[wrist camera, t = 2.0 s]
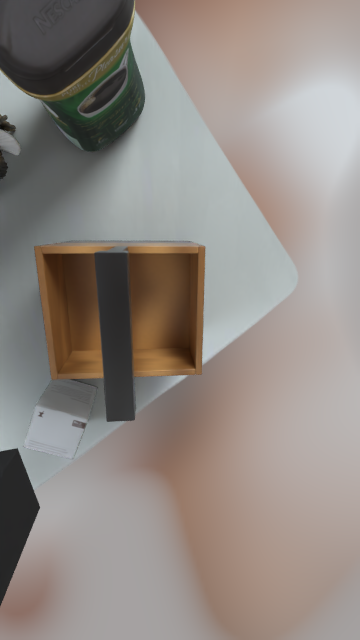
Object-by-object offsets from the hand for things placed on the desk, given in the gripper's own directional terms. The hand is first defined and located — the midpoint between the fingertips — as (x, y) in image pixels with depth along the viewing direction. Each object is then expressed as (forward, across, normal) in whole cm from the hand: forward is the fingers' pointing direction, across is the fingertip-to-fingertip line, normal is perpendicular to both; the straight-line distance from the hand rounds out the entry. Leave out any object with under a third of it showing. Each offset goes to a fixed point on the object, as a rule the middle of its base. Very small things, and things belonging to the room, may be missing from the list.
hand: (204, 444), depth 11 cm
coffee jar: (+28, -4, +21) cm, 36 cm away
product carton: (+28, -15, -12) cm, 35 cm away
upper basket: (+24, -4, +1) cm, 24 cm away
